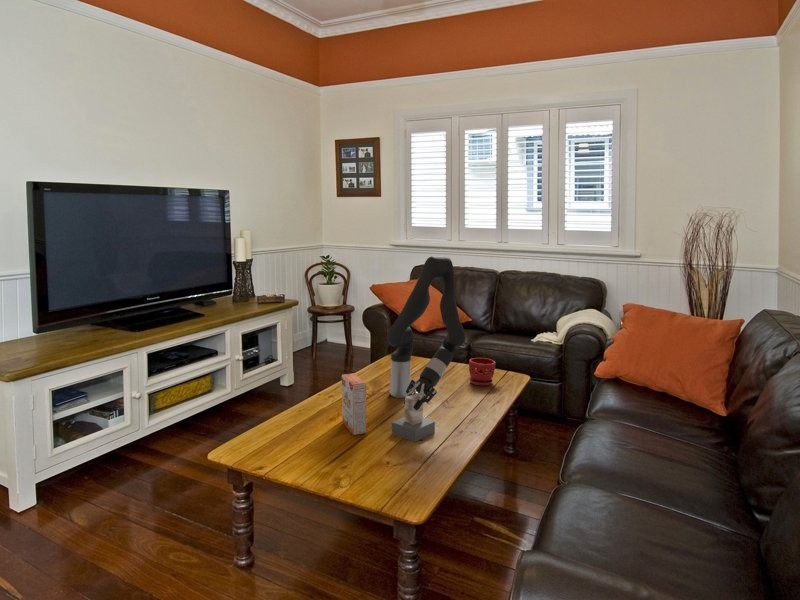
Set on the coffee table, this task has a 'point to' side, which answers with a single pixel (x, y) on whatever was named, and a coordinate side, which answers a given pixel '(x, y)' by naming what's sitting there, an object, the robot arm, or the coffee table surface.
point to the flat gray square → (413, 429)
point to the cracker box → (354, 403)
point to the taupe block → (413, 410)
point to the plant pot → (481, 371)
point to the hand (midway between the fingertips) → (410, 406)
